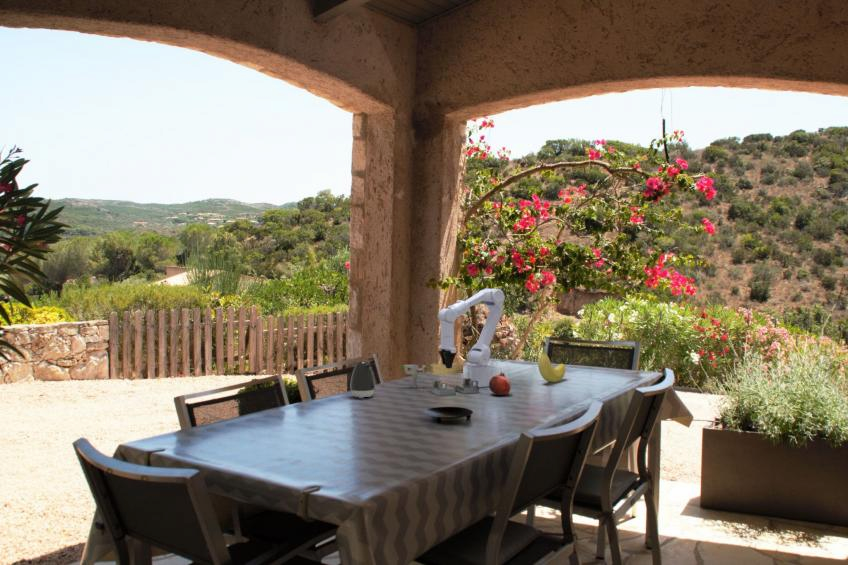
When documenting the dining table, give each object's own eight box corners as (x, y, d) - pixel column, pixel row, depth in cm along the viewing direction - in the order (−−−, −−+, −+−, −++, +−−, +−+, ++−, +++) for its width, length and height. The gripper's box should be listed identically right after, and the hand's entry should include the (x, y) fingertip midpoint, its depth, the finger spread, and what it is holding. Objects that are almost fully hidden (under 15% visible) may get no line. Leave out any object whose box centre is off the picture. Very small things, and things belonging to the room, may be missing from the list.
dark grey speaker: (360, 400, 285) (360, 362, 285) (345, 397, 293) (345, 360, 292) (380, 397, 292) (380, 360, 291) (365, 393, 300) (365, 357, 299)
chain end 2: (469, 389, 309) (469, 377, 309) (479, 393, 300) (479, 381, 300) (454, 390, 307) (454, 378, 307) (464, 394, 298) (464, 382, 298)
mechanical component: (426, 388, 312) (426, 365, 311) (402, 388, 312) (402, 365, 311) (426, 387, 315) (426, 364, 314) (403, 387, 315) (403, 364, 314)
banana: (558, 378, 336) (558, 336, 336) (569, 379, 333) (569, 336, 332) (535, 385, 318) (535, 340, 317) (547, 386, 315) (547, 341, 314)
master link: (460, 372, 313) (460, 361, 313) (463, 373, 310) (463, 362, 310) (430, 373, 308) (430, 363, 308) (433, 374, 305) (433, 364, 305)
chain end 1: (446, 390, 305) (446, 379, 305) (455, 394, 296) (455, 382, 296) (431, 392, 303) (431, 380, 303) (439, 396, 294) (439, 384, 294)
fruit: (486, 396, 293) (485, 372, 293) (492, 392, 302) (492, 368, 302) (507, 397, 290) (507, 373, 289) (513, 393, 298) (513, 370, 298)
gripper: (432, 335, 314) (432, 365, 314) (445, 338, 300) (445, 370, 301) (447, 334, 316) (447, 364, 317) (460, 337, 303) (460, 369, 303)
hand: (447, 367), depth 309 cm, fingers closed on master link, 3 cm apart
